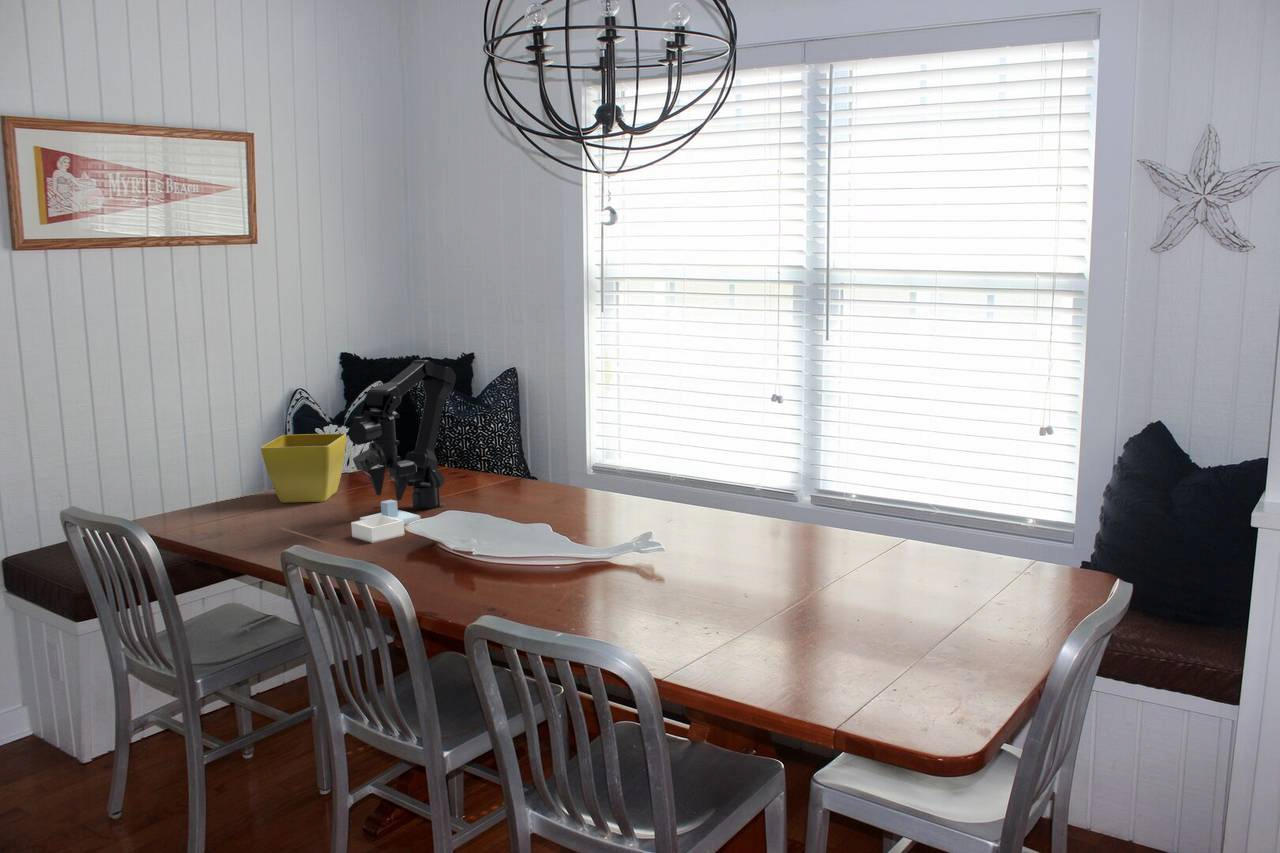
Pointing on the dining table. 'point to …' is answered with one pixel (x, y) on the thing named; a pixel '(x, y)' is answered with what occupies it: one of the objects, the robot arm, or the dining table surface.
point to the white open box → (377, 528)
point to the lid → (394, 512)
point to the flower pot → (305, 466)
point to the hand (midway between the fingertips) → (388, 497)
